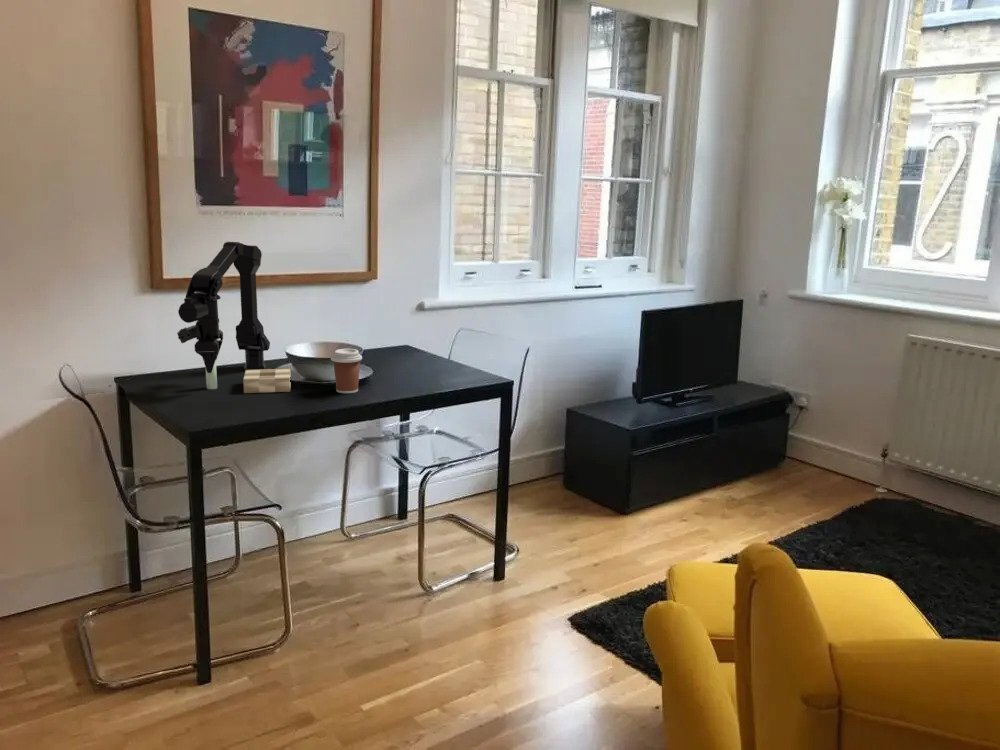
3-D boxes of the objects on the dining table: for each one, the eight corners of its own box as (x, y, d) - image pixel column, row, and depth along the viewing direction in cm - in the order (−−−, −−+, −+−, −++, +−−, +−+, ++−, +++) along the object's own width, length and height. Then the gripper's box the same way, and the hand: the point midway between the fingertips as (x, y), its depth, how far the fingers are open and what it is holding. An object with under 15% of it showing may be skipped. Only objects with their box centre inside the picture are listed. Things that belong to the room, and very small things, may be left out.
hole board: (246, 382, 255) (245, 369, 254) (290, 381, 258) (290, 368, 257) (244, 393, 243) (243, 379, 242) (290, 391, 246) (289, 378, 245)
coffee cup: (365, 387, 253) (364, 348, 250) (359, 395, 245) (359, 354, 242) (335, 386, 254) (334, 347, 251) (328, 394, 245) (327, 353, 242)
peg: (207, 386, 249) (205, 357, 247) (217, 386, 250) (216, 357, 247) (206, 389, 246) (204, 359, 244) (216, 389, 247) (215, 359, 245)
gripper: (182, 311, 250) (186, 362, 254) (173, 323, 232) (177, 377, 236) (221, 311, 252) (224, 361, 256) (215, 322, 235) (219, 376, 239)
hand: (211, 369), depth 247 cm, fingers open, 9 cm apart
